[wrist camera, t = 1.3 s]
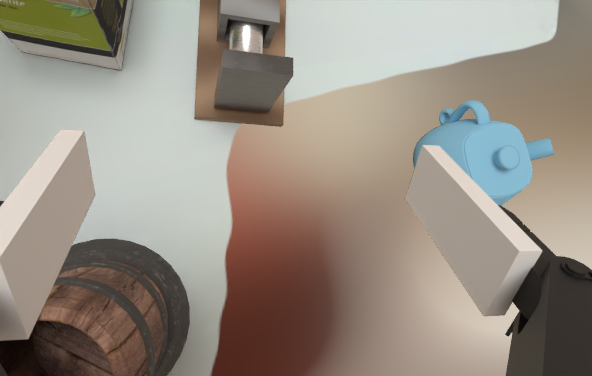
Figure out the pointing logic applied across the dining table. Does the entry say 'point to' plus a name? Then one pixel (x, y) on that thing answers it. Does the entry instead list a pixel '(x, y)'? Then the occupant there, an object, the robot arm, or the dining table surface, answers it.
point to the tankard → (106, 316)
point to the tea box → (69, 29)
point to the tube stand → (215, 37)
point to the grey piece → (250, 71)
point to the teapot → (486, 150)
